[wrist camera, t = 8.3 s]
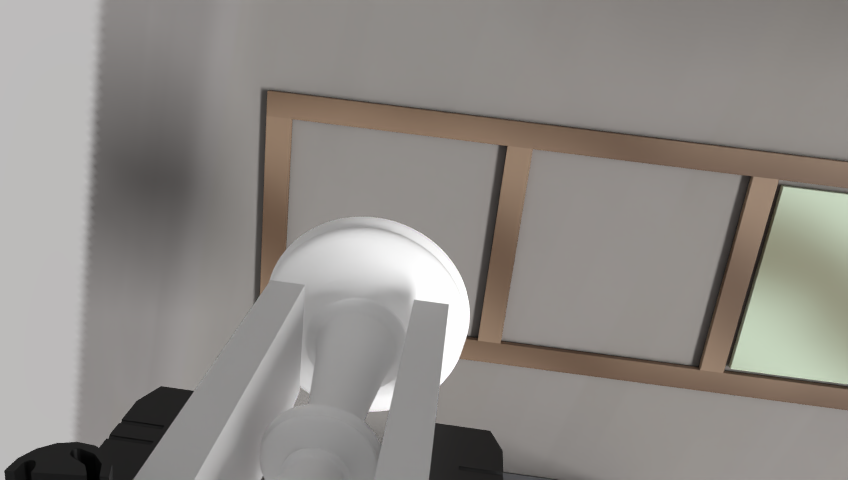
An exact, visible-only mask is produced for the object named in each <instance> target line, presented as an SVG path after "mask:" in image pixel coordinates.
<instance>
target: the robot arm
mask: <svg viewBox="0 0 848 480" xmlns="http://www.w3.org/2000/svg"><path fill="white" fill-rule="evenodd" d="M304 297H305V285H303V284H296V283H288V282H281V281H274V280H270V282H269V283H268V285H267V286H266V287H265V289H264V290H263V292H262V293H261V295H260V296H259V298H258V299H257V301H256V302H255V303H254V305H253V306H252V308H251V309H250V311H249V312H248V314H247V315H246V317H245V318H244V319H243V321H242V322H241V324H240V325H239V327H238V328H237V330H236V331H235V333H234V334H233V335H232V337H231V338H230V340H229V341H228V343H227V344H226V346H225V347H224V349H223V350H222V351H221V353H220V354H219V356H218V357H217V359H216V360H215V362H214V363H213V364H212V366H211V367H210V369H209V370H208V372H207V373H206V375H205V376H204V378H203V379H202V380H201V382H200V383H199V385H198V386H197V388H196V389H195V391H190V390H183V389H176V388H169V387H162V386H161V387H159V388H158V389H156V390H154V391H153V392H151V393H149V394H148V395H146V396H144V397H143V398H141V399H139V400H138V401H136V403H135V404H134V405H133V406H132V408H131V409H130V410H129V411H128V413H127V414H126V415H125V416H124V418H123V419H122V422H121V423H119V424H118V425H117V426H116V427H115V429H114V430H113V431H112V432H111V434H110V436H109V439H106V440H105V441H104V442H103V444H102V445H101V446H100V447H99V448H98V447H96V446H94V445H89V444H85V443H80V442H70V443H56V444H52V445H49V446H45V447H41V448H38V449H35V450H33V451H31V452H29V453H27V454H25V455H23V456H21V457H19V458H18V459H17V460H16V461H14V462H13V463H12V464H11V465H10V466H9V467H8V468H7V469H6V470H5V480H261V478H262V476H263V475H262V471H261V467H260V443H261V439H262V436H263V434H264V432H265V430H266V428H267V427H268V425H269V424H270V423H271V422H272V421H273V420H274V419H275V418H276V417H277V416H278V415H280V414H281V413H283V412H285V411H287V410H289V409H291V408H293V406H294V403H295V401H296V399H297V397H298V394H299V388H300V370H301V352H302V334H303V316H304ZM448 309H449V304H444V303H436V302H429V301H422V300H414V301H413V306H412V310H411V315H410V319H409V324H408V328H407V333H406V337H405V342H404V346H403V351H402V355H401V360H400V364H399V369H398V373H397V378H396V382H395V387H394V391H393V396H392V400H391V405H390V409H389V414H388V418H387V423H386V427H385V432H384V436H383V441H382V445H381V450H380V454H379V459H378V463H377V468H376V472H375V477H374V480H503V452H502V449H501V448H500V446H499V444H498V443H497V441H496V440H495V438H494V436H493V435H492V433H491V431H487V430H480V429H473V428H466V427H459V426H452V425H445V424H438V423H435V422H436V413H437V404H438V396H439V387H440V378H441V370H442V361H443V352H444V344H445V335H446V326H447V318H448Z"/></svg>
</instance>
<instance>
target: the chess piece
mask: <svg viewBox="0 0 848 480" xmlns="http://www.w3.org/2000/svg"><path fill="white" fill-rule="evenodd" d="M270 280H274V281H281V282H288V283H296V284H303V285H305V297H304V316H303V334H302V352H301V370H300V387H301V388H302V389H303V390H305V391H306V392H308V393H309V394H310V396H309V401H308V404H306V405H301V406H297V407H294V408H291V409H289V410H287V411H285V412H283V413H281V414H280V415H278V416H277V417H276V418H275V419H274V420H273V421H272V422H271V423H270V424H269V425H268V427H267V428H266V430H265V432H264V434H263V436H262V439H261V443H260V467H261V471H262V475H263V477H264V479H265V480H374V477H375V472H376V468H377V463H378V459H379V454H380V450H381V444H380V442H379V440H378V438H377V436H376V434H375V433H374V432H373V430H372V429H371V428H370V427H369V426H368V425H367V424H366V423H365V422H364V420H365V418H366V416H367V414H368V412H374V411H386V410H389V409H390V405H391V400H392V396H393V391H394V387H395V382H396V378H397V373H398V369H399V364H400V360H401V355H402V351H403V346H404V342H405V337H406V333H407V328H408V324H409V319H410V315H411V310H412V306H413V301H414V300H422V301H429V302H436V303H444V304H449V309H448V318H447V326H446V335H445V344H444V352H443V361H442V370H441V378H440V385H441V384H442V383H443V381H444V380H445V379H446V378H447V377H448V376H449V374H450V373H451V372H452V370H453V368H454V367H455V365H456V363H457V361H458V359H459V357H460V355H461V352H462V349H463V346H464V343H465V340H466V337H467V333H468V328H469V319H470V310H469V301H468V295H467V292H466V288H465V285H464V283H463V280H462V278H461V276H460V274H459V272H458V270H457V268H456V267H455V265H454V264H453V262H452V261H451V259H450V258H449V257H448V256H447V255H446V253H445V252H444V251H443V250H442V249H441V248H440V247H439V246H438V245H436V244H435V243H434V242H433V241H432V240H430V239H429V238H428V237H426V236H425V235H423V234H422V233H420V232H418V231H416V230H415V229H413V228H411V227H408V226H406V225H404V224H401V223H398V222H395V221H391V220H388V219H383V218H377V217H364V216H363V217H347V218H341V219H337V220H333V221H329V222H326V223H323V224H321V225H319V226H317V227H314V228H313V229H311V230H309V231H307V232H306V233H304V234H303V235H301V236H300V237H299V238H297V239H296V240H295V241H294V242H293V243H292V244H291V245H290V246H289V247H288V248H287V249H286V250H285V252H284V253H283V254H282V256H281V257H280V258H279V260H278V262H277V263H276V265H275V267H274V269H273V272H272V274H271V277H270ZM270 280H269V282H270Z"/></svg>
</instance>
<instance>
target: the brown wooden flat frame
mask: <svg viewBox="0 0 848 480" xmlns="http://www.w3.org/2000/svg"><path fill="white" fill-rule="evenodd" d="M292 119H296V120H304V121H312V122H320V123H328V124H336V125H344V126H352V127H360V128H368V129H376V130H384V131H392V132H400V133H408V134H416V135H424V136H432V137H440V138H448V139H456V140H464V141H472V142H480V143H488V144H496V145H504V146H507V151H506V158H505V164H504V171H503V177H502V184H501V190H500V197H499V203H498V210H497V216H496V223H495V229H494V236H493V243H492V249H491V256H490V262H489V269H488V275H487V282H486V288H485V295H484V301H483V308H482V314H481V321H480V328H479V334H478V338H474V337H466V340H465V343H464V346H463V349H462V352H461V355H460V357H459V359H466V360H474V361H481V362H489V363H496V364H504V365H512V366H519V367H527V368H534V369H542V370H549V371H557V372H564V373H572V374H579V375H587V376H594V377H602V378H609V379H617V380H624V381H632V382H639V383H647V384H654V385H662V386H669V387H677V388H685V389H692V390H700V391H707V392H715V393H722V394H730V395H737V396H745V397H752V398H760V399H767V400H775V401H782V402H790V403H797V404H805V405H812V406H820V407H827V408H835V409H842V410H848V387H845V386H837V385H830V384H822V383H815V382H807V381H799V380H792V379H784V378H777V377H769V376H762V375H754V374H746V373H739V372H731V371H724V369H725V365H726V362H727V358H728V355H729V352H730V348H731V345H732V341H733V338H734V334H735V331H736V327H737V324H738V320H739V317H740V313H741V310H742V306H743V303H744V300H745V296H746V293H747V289H748V286H749V282H750V279H751V275H752V272H753V268H754V265H755V261H756V258H757V254H758V251H759V248H760V244H761V241H762V237H763V234H764V230H765V227H766V223H767V220H768V216H769V213H770V209H771V206H772V202H773V199H774V196H775V192H776V189H777V185H778V182H779V180H786V181H794V182H802V183H810V184H818V185H826V186H834V187H842V188H848V161H840V160H832V159H824V158H816V157H808V156H799V155H791V154H783V153H775V152H767V151H759V150H751V149H743V148H735V147H727V146H718V145H710V144H702V143H694V142H686V141H678V140H670V139H662V138H654V137H646V136H637V135H629V134H621V133H613V132H605V131H597V130H589V129H581V128H573V127H565V126H556V125H548V124H540V123H532V122H524V121H516V120H508V119H500V118H492V117H484V116H475V115H467V114H459V113H451V112H443V111H435V110H427V109H419V108H411V107H403V106H394V105H386V104H378V103H370V102H362V101H354V100H346V99H338V98H330V97H322V96H313V95H305V94H297V93H289V92H281V91H273V90H268V91H267V115H266V142H265V170H264V197H263V224H262V251H261V279H260V295H261V293H262V292H263V290H264V289H265V287H266V286H267V285H268V283H269V280H270V277H271V274H272V272H273V269H274V267H275V265H276V263H277V262H278V260H279V258H280V257H281V256H282V254H283V253H284V252H285V250H286V240H287V220H288V199H289V179H290V159H291V138H292ZM533 149H537V150H545V151H553V152H561V153H569V154H577V155H585V156H593V157H601V158H609V159H617V160H625V161H633V162H641V163H649V164H657V165H665V166H673V167H681V168H689V169H697V170H705V171H713V172H721V173H729V174H737V175H745V176H751V178H750V182H749V185H748V189H747V193H746V196H745V200H744V203H743V207H742V211H741V214H740V218H739V222H738V225H737V229H736V233H735V236H734V240H733V244H732V247H731V251H730V255H729V258H728V262H727V265H726V269H725V273H724V276H723V280H722V284H721V287H720V291H719V295H718V298H717V302H716V306H715V309H714V313H713V317H712V320H711V324H710V327H709V331H708V335H707V338H706V342H705V346H704V349H703V353H702V357H701V360H700V364H699V367H693V366H686V365H678V364H671V363H663V362H656V361H648V360H640V359H633V358H625V357H618V356H610V355H603V354H595V353H587V352H580V351H572V350H565V349H557V348H550V347H542V346H534V345H527V344H519V343H512V342H504V341H501V338H502V332H503V326H504V320H505V314H506V308H507V302H508V295H509V289H510V283H511V277H512V271H513V265H514V259H515V253H516V247H517V241H518V235H519V229H520V223H521V217H522V211H523V205H524V199H525V193H526V187H527V181H528V175H529V169H530V163H531V157H532V150H533ZM729 367H730V369H736V370H743V371H751V372H758V373H766V374H773V375H781V376H789V377H796V378H804V379H811V380H819V381H826V382H834V383H842V384H848V193H842V192H834V191H826V190H818V189H810V188H802V187H794V186H786V185H781V187H780V191H779V194H778V198H777V201H776V204H775V208H774V211H773V215H772V218H771V222H770V225H769V229H768V232H767V235H766V239H765V242H764V246H763V249H762V253H761V256H760V260H759V263H758V266H757V270H756V273H755V277H754V280H753V284H752V287H751V291H750V294H749V297H748V301H747V304H746V308H745V311H744V315H743V318H742V322H741V325H740V328H739V332H738V335H737V339H736V342H735V346H734V349H733V353H732V356H731V360H730V363H729Z"/></svg>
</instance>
